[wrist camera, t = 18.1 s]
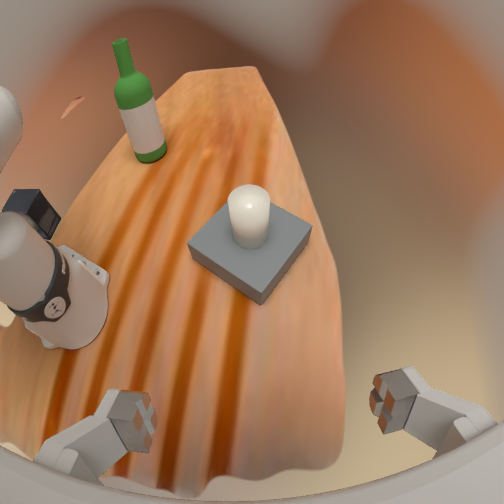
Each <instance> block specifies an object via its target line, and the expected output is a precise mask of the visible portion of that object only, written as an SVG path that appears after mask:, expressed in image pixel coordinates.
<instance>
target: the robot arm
mask: <svg viewBox="0 0 504 504" xmlns="http://www.w3.org/2000/svg"><path fill="white" fill-rule="evenodd" d="M22 134H23V118H22V113H21V109H20V106H19V104H18V102H17V100H16V98H15V97H14V96H13V94H12V93H11V92H9V91H8V90H7V89H5V88H3V87H1V86H0V173H1V172H2V170H3V168H4V166H5V165H6V163H7V162H8V160H9V158H10V157H11V155H12V153H13V152H14V150H15V148H16V147H17V145H18V144H19V142H20V140H21V138H22ZM98 273H100V274H99V275H98ZM109 277H110V276H109V273H108V272H107V271H106V270H104V269H102V268H101V267H99V266H97V265H96V264H94V263H93V262H91V261H89V260H88V259H86V258H85V257H83V256H81V255H80V254H78V253H77V252H75V251H74V250H72V249H71V248H69V247H68V246H66V245H61V246H59V247H56V246H54V245H53V244H51V243H50V242H48V241H46V240H44V239H43V238H42V237H41V236H40V234H39V233H38V232H37V231H36V230H35V229H34V228H33V227H32V226H31V224H30V223H29V222H28V221H27V220H26V219H25V218H24V217H23V216H22V215H20V214H18V213H16V212H12V211H5V212H1V213H0V301H1V302H3V303H5V304H6V305H7V306H8V308H9V309H10V310H11V311H12V312H13V313H14V314H16V315H17V316H18V317H20V318H22V319H23V321H24V323H25V327H26V328H27V329H28V330H30V331H31V332H33V333H34V334H36V335H37V336H39V337H40V339H41V341H42V344H43V346H44V347H46V348H47V349H53V348H57V347H62V348H66V349H78V348H82V347H84V346H86V345H87V344H89V343H90V342H91V341H93V340H94V339H95V337H96V336H97V335H98V334H99V332H100V331H101V329H102V327H103V325H104V322H105V320H106V316H107V310H108V299H107V286H108V283H109ZM373 385H374V386H375V388H374V389H373V390H372V391H371V393H370V398H369V401H370V408H371V411H372V413H373V415H375V416H377V417H379V419H378V425H379V427H380V429H381V431H382V433H383V434H388V433H391V432H395V431H398V430H402V429H404V431H406V432H408V433H409V434H411V435H413V436H414V437H416V438H417V439H419V440H420V441H422V442H424V443H425V444H427V445H428V446H430V447H432V448H433V449H435V450H437V452H436V454H435V456H434V457H433V459H432V460H430V461H427V462H425V463H422V464H420V465H418V466H415V467H412V468H410V469H407V470H405V471H402V472H399V473H396V474H393V475H390V476H387V477H384V478H381V479H377V480H374V481H371V482H367V483H364V484H360V485H356V486H352V487H348V488H344V489H339V490H335V491H330V492H325V493H320V494H314V495H307V496H301V497H293V498H284V499H274V500H261V501H239V502H238V501H237V502H218V501H195V500H182V499H172V498H163V497H157V496H150V495H144V494H138V493H133V492H127V491H123V490H119V489H114V488H110V487H106V486H104V485H103V484H102V483H101V482H100V480H99V479H98V477H100V476H101V475H102V474H103V473H104V472H105V471H107V470H108V469H109V468H110V467H111V466H112V465H113V464H115V463H116V462H117V461H118V460H119V459H120V458H121V457H122V456H124V455H125V454H126V453H127V451H133V452H142V453H149V450H150V447H151V443H152V438H151V436H150V435H151V434H152V433H154V432H155V430H156V426H157V417H156V412H155V410H154V408H153V407H152V406H150V405H149V404H150V401H151V399H150V396H149V394H148V393H146V392H138V391H129V390H118V389H109V390H107V392H106V394H105V396H104V397H103V399H102V401H101V403H100V405H99V407H98V408H97V410H96V412H95V414H94V416H91V415H90V416H88V417H86V418H85V419H83V420H81V421H79V422H78V423H76V424H74V425H72V426H70V427H69V428H67V429H65V430H63V431H61V432H60V433H58V434H56V435H54V436H52V437H50V438H49V439H47V440H45V442H44V444H43V445H42V447H41V449H40V450H39V452H38V454H37V455H36V457H35V459H34V461H31V460H29V459H26V458H24V457H22V456H20V455H18V454H16V453H14V452H12V451H10V450H8V449H6V448H4V447H2V446H0V504H504V421H502V422H500V423H499V424H498V423H496V421H495V420H494V419H493V418H492V417H491V415H490V414H489V413H488V412H487V411H486V409H485V408H484V407H483V406H481V405H478V404H475V403H473V402H470V401H467V400H464V399H461V398H459V397H456V396H453V395H450V394H448V393H445V392H442V391H440V390H437V389H431V388H430V387H429V386H428V384H427V383H426V382H425V381H424V379H423V378H422V377H421V376H420V375H419V373H418V372H417V371H416V370H415V368H414V367H412V366H408V367H404V368H401V369H398V370H394V371H390V372H386V373H382V374H377V375H375V377H374V380H373Z"/></svg>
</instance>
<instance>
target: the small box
mask: <svg viewBox="0 0 504 504" xmlns="http://www.w3.org/2000/svg"><path fill="white" fill-rule="evenodd" d="M5 211H12V212H16V213H18V214H20V215H22V216H23V217H24V218H25V219H26V220H27V221H28V222H29V223H30V224H31V226H32V227H33V228H34V229H35V230H36V231H37V232H38V233H39V234H40V236H41V237H42V238H43V239H47V240H51V238H52V236H53V234H54V232H55V230H56V228H57V226H58V224H59V222H60V220H61V217H60V216H59V215H58V213H57V212H56V211H55V210H54V209H53V207H52V206H51V205H50V203H49V202H48V201H47V199H46V198H45V197H44V196H43V194H42V192H41V191H40V189H14V190H13V192H12V194H11V195H10V197H9V199H8V200H7V202H6V204H5V206H4V207H3V209H2V212H5Z"/></svg>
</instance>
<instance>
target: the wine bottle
mask: <svg viewBox="0 0 504 504" xmlns="http://www.w3.org/2000/svg"><path fill="white" fill-rule="evenodd" d="M112 46H113V49H114V53H115V57H116V61H117V65H118V68H119V72H120V78H119V80H118V81H117V83H116V85H115V90H114V94H115V98H116V102H117V105H118V108H119V111H120V113H121V116H122V120H123V122H124V125H125V128H126V131H127V134H128V136H129V139H130V142H131V144H132V147H133V150H134V152H135V155H136V157H137V158H138V160H140V161H141V162H145V163H149V162H153V161H156V160H158V159H160V158H161V157H162V156H163V155H164V154H165V152H166V149H167V145H166V142H165V138H164V134H163V130H162V127H161V123H160V119H159V115H158V112H157V108H156V104H155V100H154V96H153V93H152V89H151V85H150V82H149V80H148V78H147V77H146V76H145V75H143V74H142V73H139V72H136V71H135V69H134V65H133V61H132V57H131V54H130V50H129V45H128V41H127V38H122V39H119V40H116V41H115V42H113V43H112Z"/></svg>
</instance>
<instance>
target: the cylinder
mask: <svg viewBox="0 0 504 504" xmlns="http://www.w3.org/2000/svg"><path fill="white" fill-rule="evenodd" d="M228 206H229V214H230V221H231V228H232V235H233V239H234V241H235V243H236V244H237V245H239V246H240V247H242V248H245V249H256V248H258V247H260V246H262V245H263V244H264V243H265V242H266V241H267V239H268V234H269V211H270V197H269V194H268V193H267V191H266V190H264V189H263V188H261V187H259V186H256V185H243V186H240V187H237V188H236V189H234V190H233V191H232V192H231V193H230V195H229V197H228Z"/></svg>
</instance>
